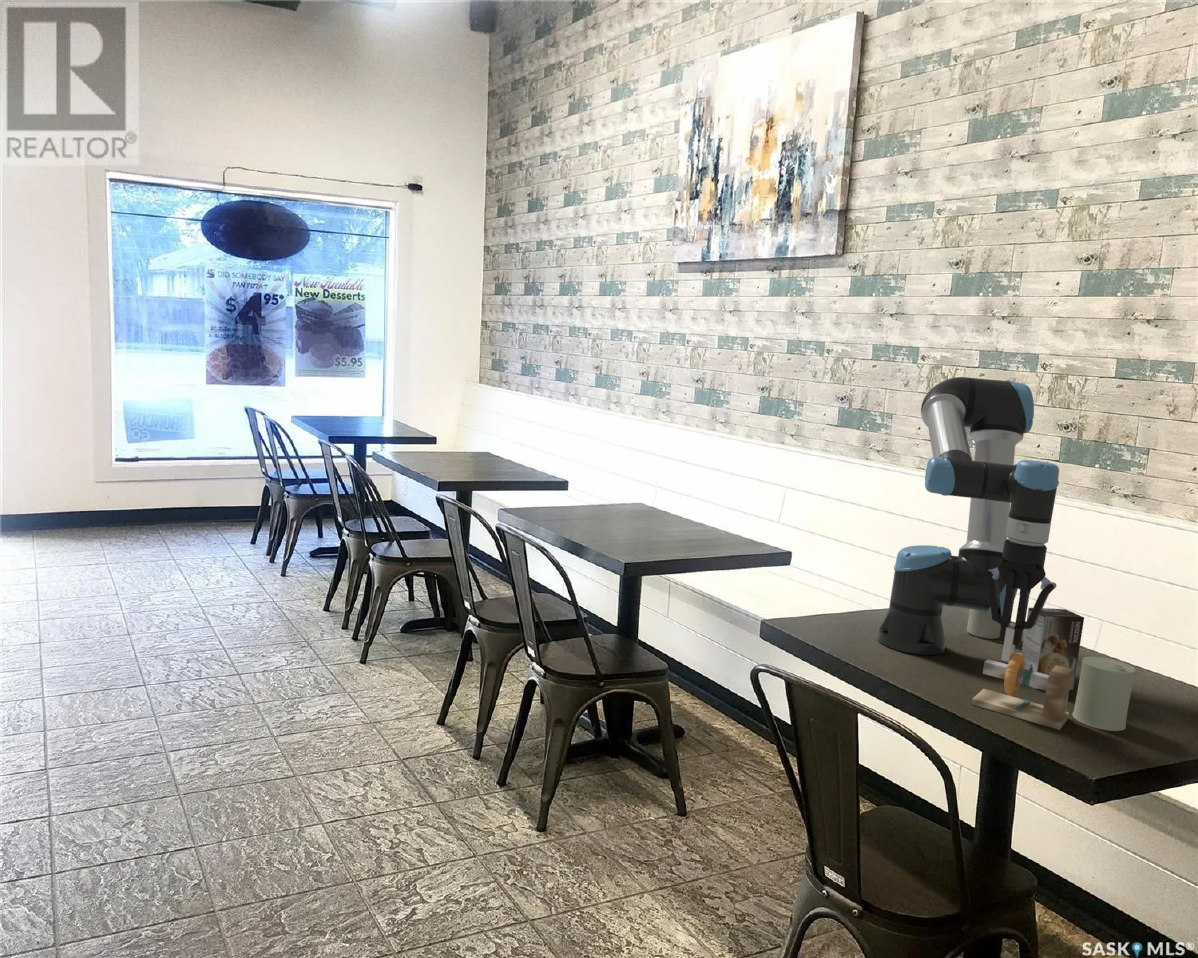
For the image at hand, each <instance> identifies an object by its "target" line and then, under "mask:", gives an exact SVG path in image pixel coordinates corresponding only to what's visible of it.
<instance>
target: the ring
mask: <svg viewBox="0 0 1198 958" xmlns="http://www.w3.org/2000/svg"><path fill="white" fill-rule="evenodd" d="M1007 664H1008V666H1007V669H1006V675H1005V679H1004V682H1003V683H1004V684H1003V685H1004V691H1005V692H1004V693H1006V694H1005V695H1008V696H1012V697H1014V696H1015V695H1016V693H1018V692H1019V691H1020V688H1021V685H1022V684H1019V683H1016V678H1017V673H1018V670H1019V668H1023V669H1024V668H1025V661H1024V656H1023V655H1022V652H1021V653H1020V652H1016V653H1014V654H1013V656H1012V657H1011V658H1010V661H1009V662H1008V663H1007Z"/></svg>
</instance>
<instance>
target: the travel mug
mask: <svg viewBox="0 0 1198 958" xmlns="http://www.w3.org/2000/svg"><path fill="white" fill-rule="evenodd" d="M1002 613H1003V612H1001V615H1002ZM1000 629H1001V625H1000V623H998V622H997V621H994V620H992V614H991V612H989V611H988V612H984V611H981V610H974V609H969V614H968V620H967V626H966V632H967V633H969V634H970V635H972V636H975V637H977V638H980V639H981V638H982V639H986V640H987V639H988V640H998V639H999V635H1000Z"/></svg>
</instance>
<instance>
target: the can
mask: <svg viewBox="0 0 1198 958" xmlns="http://www.w3.org/2000/svg"><path fill="white" fill-rule="evenodd" d="M1081 660H1082V661H1081V667H1080V668H1081V669H1080V675H1079V681H1078V688H1077V691H1076V697H1075V703H1074V708H1073V712H1072V717H1073V719H1074V720H1076V721H1077V722H1079V723H1081V724H1083V725H1086V726H1088V727H1091V728H1094V729H1099V730H1102V731H1110V732H1120V731H1124V730H1125V729H1126V726H1127V725H1126V723H1127V717H1128V711H1129V705H1130V699H1131V694H1132V688H1133V684H1134V679H1135V674H1136V671H1137V670H1136V669H1135V668H1134V667H1133V666H1132V665H1130V664H1128V663H1126V662H1123V661H1120V660H1117V659H1114V658H1113V659H1112V658H1109V657H1102V656H1093V655H1092V656H1089V655H1088V656H1084V657H1083V658H1082V659H1081Z"/></svg>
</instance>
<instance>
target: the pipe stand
mask: <svg viewBox="0 0 1198 958" xmlns="http://www.w3.org/2000/svg"><path fill="white" fill-rule="evenodd" d="M1007 666H1008V663H1007V664H1006V663H1003V662H999V661H996V660H992V659H989V658H987V659H986V660H985V661H984V663H983V668H982V674H983V675H985V676H986V675H987V676H991V677H994V678H997V679H1001V680H1005V675H1006V669H1007ZM1072 673H1073V669H1069V668H1065V667H1061V666H1057V665H1056V666H1055V667H1054V668H1053V669H1052V670H1051V671H1050V672H1049V675H1046V674H1042V673H1038V672H1034V671H1031V670H1027V669H1023V668H1019V670H1018V673H1017V678H1016V683H1019V684H1021V685H1023V686H1026V687H1031V688H1032V687H1034V688H1038V689H1037V690H1042V691H1045V696H1044V702H1043V704H1040V703H1036V702H1033V701H1031V700H1028V699H1022V698H1019V697H1015V696H1010V695H1007V694H1004V693H1000V692H997V691H994V690H989V689H986V688H982V689H981V690H980V691H979V692H978V693H977V694H976V695H975V696H974V697H972V701H971V705H972V706H975V707H976V706H977V707H978V708H982V709H986V710H990V711H994V712H997V713H1000V714H1002V715H1003V714H1004V715H1006V716H1011V717H1013V718H1018V719H1021V720H1024V721H1027V722H1031V723H1035V724H1036V725H1037V724H1038V725H1041V726H1046V727H1049V728H1052V729H1054V730H1057V731H1058V730H1059V731H1060V730H1061V729H1062V728H1063V726H1064V725H1065V724H1066V723H1067V721H1068V720H1069V718H1070V717H1069V716H1070V712H1068V711H1067V707H1068V701H1069V695H1070V691H1071V690H1070V684H1071V679H1072ZM1034 688H1033V689H1034Z"/></svg>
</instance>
